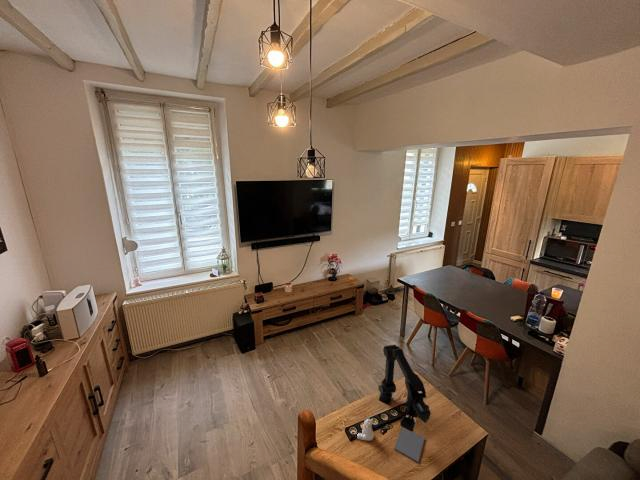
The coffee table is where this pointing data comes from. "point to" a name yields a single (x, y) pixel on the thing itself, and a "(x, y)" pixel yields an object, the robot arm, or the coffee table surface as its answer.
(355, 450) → the coffee table surface
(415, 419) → the terracotta cube
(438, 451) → the coffee table surface
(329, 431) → the coffee table surface
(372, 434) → the white creature statuette
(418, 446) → the charcoal mat
